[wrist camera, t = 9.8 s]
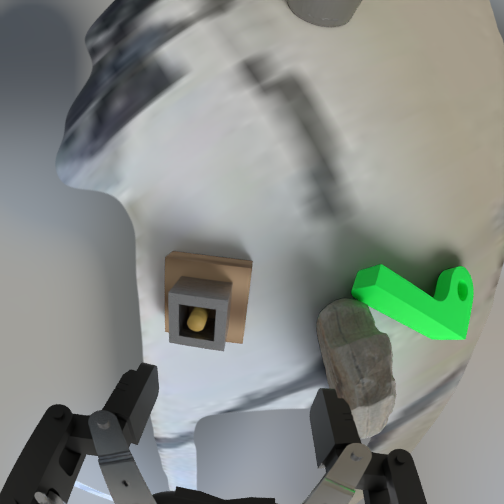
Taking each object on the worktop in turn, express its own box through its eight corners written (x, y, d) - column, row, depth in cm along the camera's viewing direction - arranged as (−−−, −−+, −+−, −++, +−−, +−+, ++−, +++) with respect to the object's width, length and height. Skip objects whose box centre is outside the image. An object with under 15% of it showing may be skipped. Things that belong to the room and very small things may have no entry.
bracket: (443, 284, 38) (475, 278, 31) (431, 339, 35) (465, 339, 28) (361, 226, 36) (394, 209, 29) (341, 291, 33) (376, 284, 26)
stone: (367, 383, 38) (397, 451, 23) (326, 396, 39) (344, 468, 24) (360, 283, 34) (414, 344, 19) (309, 297, 34) (337, 370, 20)
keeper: (172, 251, 33) (149, 271, 25) (252, 261, 33) (250, 284, 25) (171, 321, 36) (152, 353, 28) (243, 331, 36) (239, 368, 28)
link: (181, 275, 31) (168, 292, 26) (233, 282, 31) (228, 300, 26) (180, 320, 32) (169, 342, 27) (228, 328, 32) (223, 351, 27)
